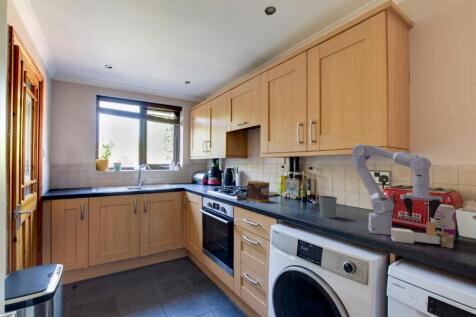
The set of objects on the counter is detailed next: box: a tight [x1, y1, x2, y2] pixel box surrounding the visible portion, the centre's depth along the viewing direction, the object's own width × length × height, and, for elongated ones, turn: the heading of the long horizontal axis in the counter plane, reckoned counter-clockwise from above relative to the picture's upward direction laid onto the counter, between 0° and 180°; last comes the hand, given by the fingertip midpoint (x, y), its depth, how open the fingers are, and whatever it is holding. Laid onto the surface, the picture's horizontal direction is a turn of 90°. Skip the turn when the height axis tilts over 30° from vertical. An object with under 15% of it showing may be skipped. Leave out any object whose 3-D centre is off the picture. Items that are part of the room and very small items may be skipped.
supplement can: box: [430, 203, 457, 241], centre depth 105 cm, size 8×8×15 cm
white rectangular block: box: [390, 227, 415, 245], centre depth 101 cm, size 7×5×5 cm, turn 71°
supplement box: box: [246, 180, 270, 203], centre depth 193 cm, size 10×15×16 cm
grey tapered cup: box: [318, 195, 338, 219], centre depth 142 cm, size 10×10×12 cm
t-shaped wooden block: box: [413, 220, 442, 245], centre depth 99 cm, size 15×3×8 cm, turn 71°
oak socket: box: [436, 231, 454, 249], centre depth 97 cm, size 3×6×5 cm, turn 161°
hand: (420, 217), depth 101 cm, fingers open, 7 cm apart
